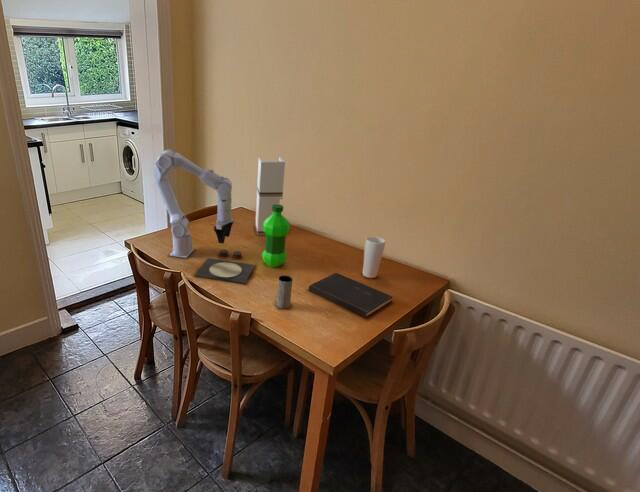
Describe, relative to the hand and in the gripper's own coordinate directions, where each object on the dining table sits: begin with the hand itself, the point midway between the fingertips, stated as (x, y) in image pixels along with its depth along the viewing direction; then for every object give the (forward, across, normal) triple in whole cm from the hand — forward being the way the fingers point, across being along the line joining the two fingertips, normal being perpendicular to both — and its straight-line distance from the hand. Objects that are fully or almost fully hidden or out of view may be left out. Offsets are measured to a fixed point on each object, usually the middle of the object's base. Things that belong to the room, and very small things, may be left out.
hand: (223, 239), depth 173 cm
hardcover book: (+8, -19, -52) cm, 56 cm away
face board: (+7, -14, -5) cm, 17 cm away
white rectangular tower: (+8, +34, -12) cm, 37 cm away
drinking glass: (+8, 0, -59) cm, 59 cm away
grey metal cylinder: (+8, -32, -31) cm, 45 cm away
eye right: (+7, 0, -6) cm, 10 cm away
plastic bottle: (+8, -2, -22) cm, 23 cm away
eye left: (+7, 0, 0) cm, 7 cm away
